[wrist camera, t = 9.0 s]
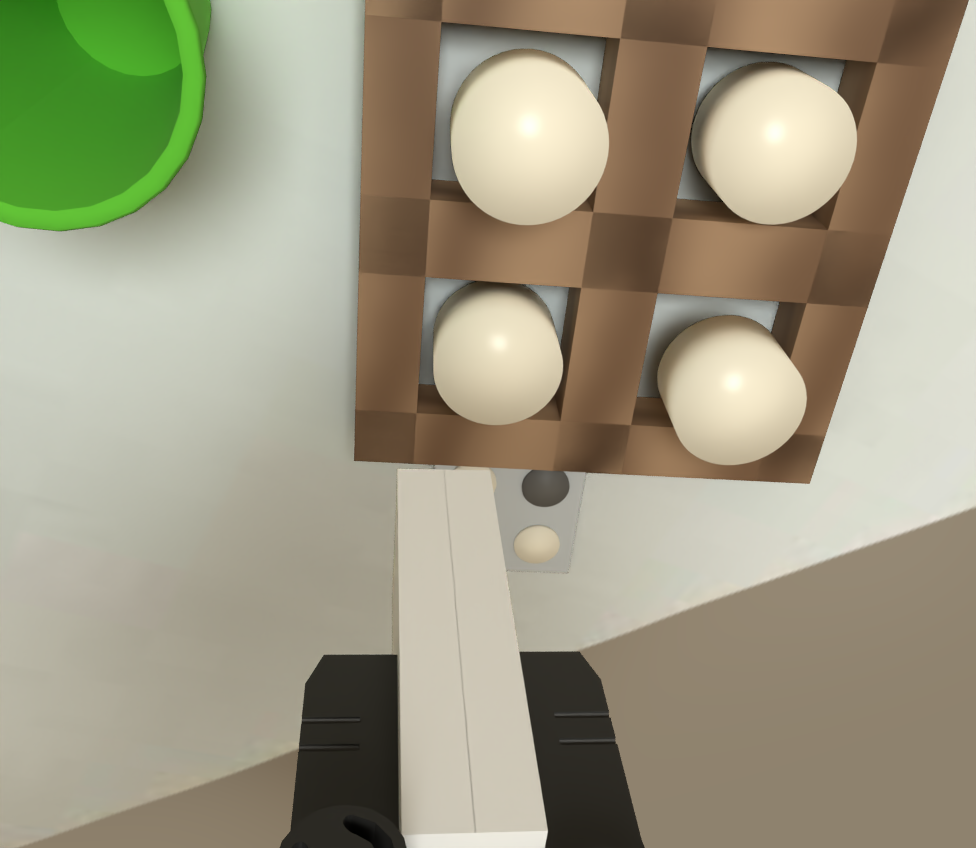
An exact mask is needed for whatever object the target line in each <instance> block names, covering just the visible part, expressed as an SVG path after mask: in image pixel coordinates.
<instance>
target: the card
mask: <svg viewBox="0 0 976 848" xmlns="http://www.w3.org/2000/svg"><path fill="white" fill-rule="evenodd" d="M434 469H442V470H490V474H491V480H492V486H493V492H494V499H495V505H496V511H497V517H498V524H499V530H500V536H501V542H502V548H503V555H504V561H505V567H506V571H522V572H546V573H568V572H569V566H570V561H571V555H572V550H573V544H574V538H575V533H576V527H577V522H578V516H579V510H580V505H581V499H582V494H583V488H584V482H585V477H586V472H567V471H547V470H527V469H507V468H488V467H468V466H448V465H434Z"/></svg>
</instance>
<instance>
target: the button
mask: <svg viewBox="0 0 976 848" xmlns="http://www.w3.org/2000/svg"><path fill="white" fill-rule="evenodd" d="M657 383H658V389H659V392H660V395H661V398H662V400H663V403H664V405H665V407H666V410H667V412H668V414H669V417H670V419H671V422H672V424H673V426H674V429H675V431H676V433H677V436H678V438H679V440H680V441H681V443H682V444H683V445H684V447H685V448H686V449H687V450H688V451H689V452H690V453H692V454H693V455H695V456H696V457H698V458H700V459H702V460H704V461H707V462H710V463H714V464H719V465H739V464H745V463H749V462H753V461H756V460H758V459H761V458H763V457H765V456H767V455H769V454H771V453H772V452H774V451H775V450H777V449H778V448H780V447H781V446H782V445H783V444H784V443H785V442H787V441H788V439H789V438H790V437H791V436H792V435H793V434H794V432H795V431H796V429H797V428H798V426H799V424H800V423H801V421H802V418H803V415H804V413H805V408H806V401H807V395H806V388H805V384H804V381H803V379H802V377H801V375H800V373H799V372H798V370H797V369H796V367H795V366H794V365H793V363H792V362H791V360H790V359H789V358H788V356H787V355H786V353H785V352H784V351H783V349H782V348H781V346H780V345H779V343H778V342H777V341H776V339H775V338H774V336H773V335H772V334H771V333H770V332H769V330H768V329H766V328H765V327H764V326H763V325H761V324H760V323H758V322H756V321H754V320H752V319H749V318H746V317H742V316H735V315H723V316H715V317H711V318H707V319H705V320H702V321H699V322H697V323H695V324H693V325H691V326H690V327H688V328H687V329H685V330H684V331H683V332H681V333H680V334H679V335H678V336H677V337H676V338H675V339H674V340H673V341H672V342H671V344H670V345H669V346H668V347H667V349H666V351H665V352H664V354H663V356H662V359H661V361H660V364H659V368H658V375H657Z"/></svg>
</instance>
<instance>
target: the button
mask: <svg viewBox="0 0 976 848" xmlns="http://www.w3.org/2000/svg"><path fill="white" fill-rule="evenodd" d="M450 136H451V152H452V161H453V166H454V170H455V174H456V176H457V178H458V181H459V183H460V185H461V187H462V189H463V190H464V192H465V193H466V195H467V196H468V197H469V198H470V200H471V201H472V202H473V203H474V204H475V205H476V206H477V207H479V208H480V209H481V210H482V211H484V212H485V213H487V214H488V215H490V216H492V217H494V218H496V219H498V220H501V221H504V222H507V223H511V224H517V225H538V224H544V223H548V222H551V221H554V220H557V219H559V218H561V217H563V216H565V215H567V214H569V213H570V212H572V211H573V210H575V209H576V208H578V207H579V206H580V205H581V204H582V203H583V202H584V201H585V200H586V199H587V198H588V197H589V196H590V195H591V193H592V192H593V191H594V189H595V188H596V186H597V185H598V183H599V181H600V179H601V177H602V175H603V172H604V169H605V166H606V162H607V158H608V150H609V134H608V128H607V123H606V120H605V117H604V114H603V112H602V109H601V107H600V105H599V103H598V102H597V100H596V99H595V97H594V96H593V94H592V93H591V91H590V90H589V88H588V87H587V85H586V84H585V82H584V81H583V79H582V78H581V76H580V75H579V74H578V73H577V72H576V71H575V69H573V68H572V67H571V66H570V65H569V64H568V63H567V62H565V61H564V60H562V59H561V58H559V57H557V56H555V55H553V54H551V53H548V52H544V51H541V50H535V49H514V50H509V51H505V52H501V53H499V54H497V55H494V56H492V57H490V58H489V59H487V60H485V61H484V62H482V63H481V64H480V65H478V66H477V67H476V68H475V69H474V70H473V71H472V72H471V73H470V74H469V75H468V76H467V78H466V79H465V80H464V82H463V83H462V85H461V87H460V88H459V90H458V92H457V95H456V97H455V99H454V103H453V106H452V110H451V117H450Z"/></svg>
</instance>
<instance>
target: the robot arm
mask: <svg viewBox="0 0 976 848" xmlns="http://www.w3.org/2000/svg"><path fill="white" fill-rule="evenodd" d="M280 848H644V845H643V842H642V840H641V836H640V832H639V828H638V824H637V820H636V816H635V812H634V809H633V805H632V801H631V797H630V793H629V789H628V785H627V781H626V777H625V773H624V769H623V765H622V761H621V757H620V753H619V750H618V745H617V744H616V742H615V734H614V730H613V726H612V722H611V718H609V710H608V706H607V703H606V698H605V694H604V690H603V686H602V683H601V679H600V678H599V677H598V675H597V674H596V673H595V671H594V670H593V669H592V667H591V666H590V665H589V664H588V662H587V661H586V660H585V658H584V657H583V656H582V655H581V653H580V652H519V648H518V642H517V635H516V629H515V623H514V617H513V611H512V604H511V598H510V592H509V586H508V579H507V573H506V567H505V561H504V555H503V548H502V542H501V536H500V530H499V524H498V517H497V511H496V505H495V499H494V492H493V486H492V480H491V474H490V470H442V469H397V490H396V515H395V540H394V565H393V590H392V655H323V657H322V659H321V660H320V662H319V663H318V665H317V667H316V668H315V670H314V671H313V673H312V674H311V676H310V678H309V679H308V681H307V682H306V684H305V693H304V703H303V712H302V724H301V732H300V742H299V752H298V762H297V772H296V782H295V792H294V802H293V812H292V821H291V831H290V832H289V834H288V835H287V836H286V837H285V838H284V840H283V841H282V843H281V846H280Z"/></svg>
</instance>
